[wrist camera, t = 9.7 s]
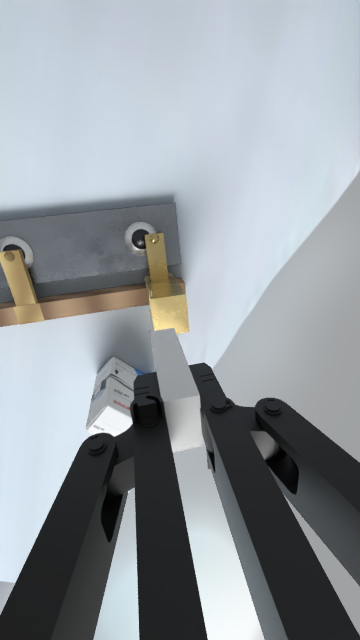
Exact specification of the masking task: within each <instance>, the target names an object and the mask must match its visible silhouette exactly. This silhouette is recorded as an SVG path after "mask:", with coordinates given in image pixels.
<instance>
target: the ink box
mask: <svg viewBox="0 0 360 640" xmlns="http://www.w3.org/2000/svg"><path fill="white" fill-rule="evenodd" d="M137 375H143V373H141V372H139V371H137V370H136V369H134V368H132V367H131V366H129V365H127V364H126V363H124V362H122V361H121V360H119V359H117V358H116V357H114V356H113V357H112V358H111V359H110V360H109V361H108V362H107V363H106V364H105V365H104V366H103V368H102V369H101V370H100V371H99V373H98V374H97V376H96V380H95V386H94V391H93V395H92V399H91V405H90V410H89V415H88V420H87V425H86V430H87V431H88V432H89V433H90V434H92V435H94V434H97V433H103V432H104V433H109V434H111V435H112V436H114V437H115V436H117V435H119V434H121V433H123V432H124V431H126V430H127V429H128V428H129V427H130V426H131V425H132V424H133V422H132V418H131V413H130V409H129V408H130V404H131V403H132V401H133V400H134V385H133V382H134V380H135V379H136V377H137Z"/></svg>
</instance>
